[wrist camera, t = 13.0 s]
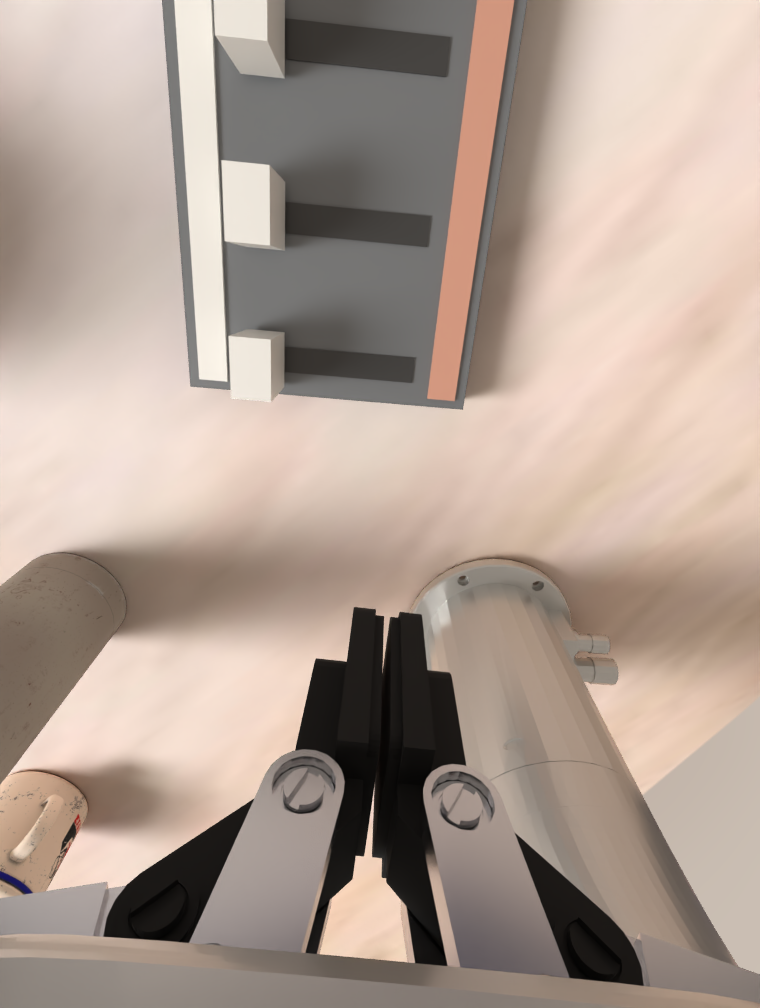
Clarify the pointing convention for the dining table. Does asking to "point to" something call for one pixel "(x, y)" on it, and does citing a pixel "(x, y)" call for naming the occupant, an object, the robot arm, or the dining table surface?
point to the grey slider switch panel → (340, 196)
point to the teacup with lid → (36, 829)
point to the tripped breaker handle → (252, 35)
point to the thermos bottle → (49, 641)
